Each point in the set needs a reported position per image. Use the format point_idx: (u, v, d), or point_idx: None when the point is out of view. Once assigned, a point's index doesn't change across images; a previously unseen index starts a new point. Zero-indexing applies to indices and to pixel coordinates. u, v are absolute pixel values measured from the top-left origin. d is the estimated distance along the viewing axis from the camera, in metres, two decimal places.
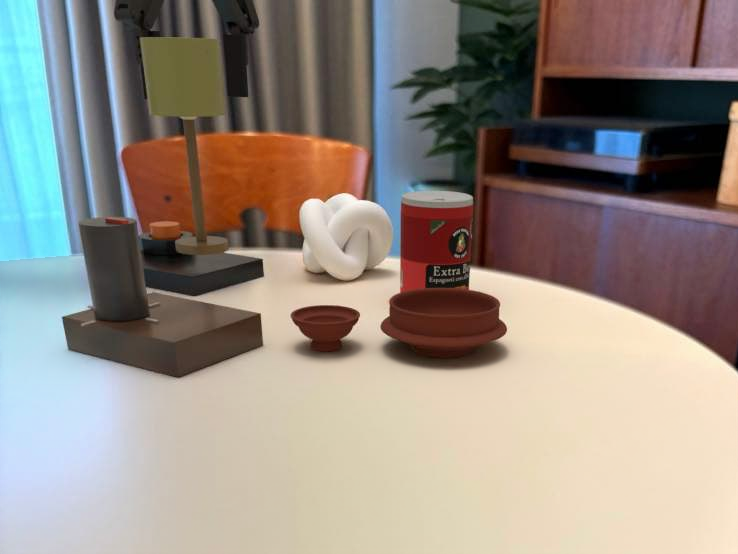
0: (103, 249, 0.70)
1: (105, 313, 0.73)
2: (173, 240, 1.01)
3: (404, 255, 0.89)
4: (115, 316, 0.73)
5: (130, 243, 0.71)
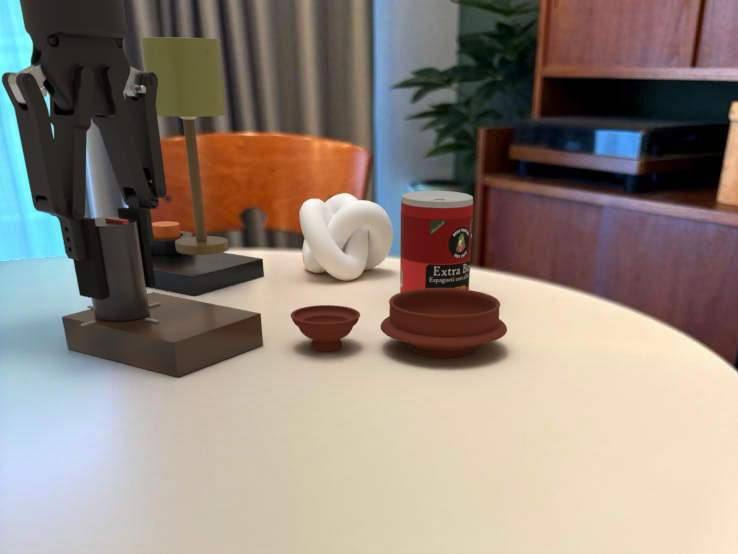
0: (103, 249, 0.70)
1: (105, 313, 0.73)
2: (173, 240, 1.01)
3: (404, 255, 0.89)
4: (115, 316, 0.73)
5: (130, 243, 0.71)
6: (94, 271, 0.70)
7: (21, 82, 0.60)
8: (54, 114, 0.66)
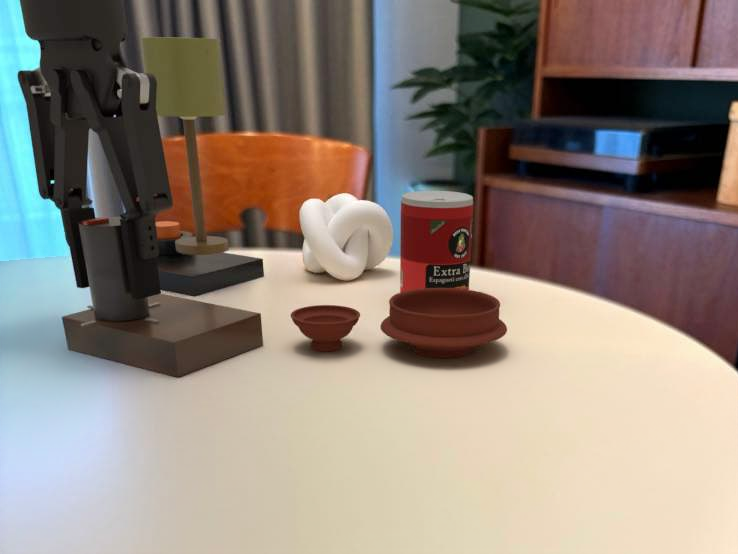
0: None
1: None
2: (173, 240, 1.01)
3: (404, 255, 0.89)
4: None
5: (88, 245, 0.70)
6: (74, 259, 0.74)
7: (18, 78, 0.68)
8: None
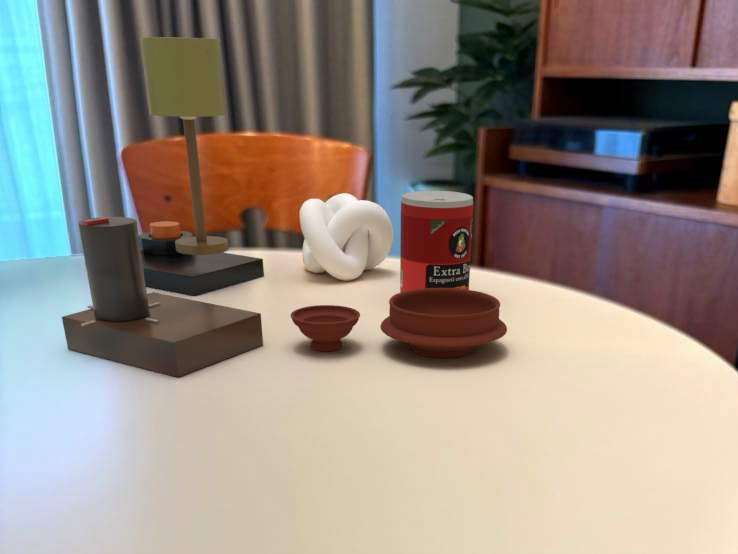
0: None
1: None
2: (173, 240, 1.01)
3: (404, 255, 0.89)
4: None
5: (88, 245, 0.70)
6: None
7: None
8: None
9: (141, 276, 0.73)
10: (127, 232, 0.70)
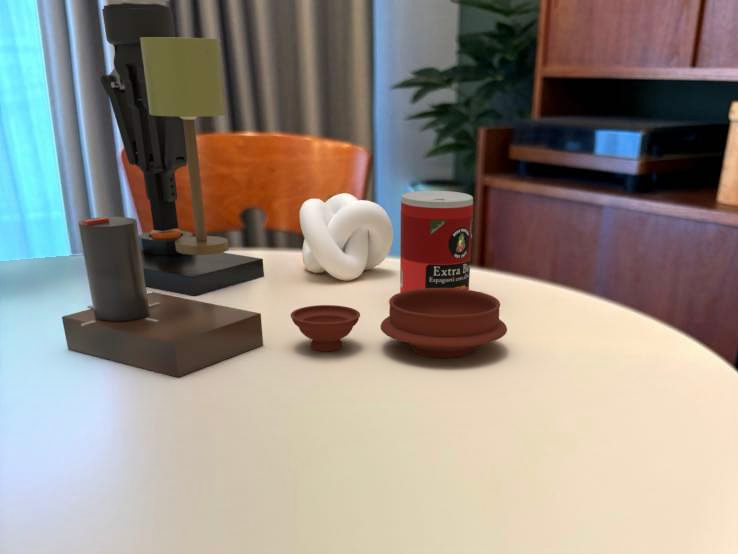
0: None
1: None
2: (173, 240, 1.01)
3: (404, 255, 0.89)
4: None
5: (88, 245, 0.70)
6: (152, 209, 1.01)
7: (102, 82, 0.97)
8: None
9: (141, 276, 0.73)
10: (127, 232, 0.70)
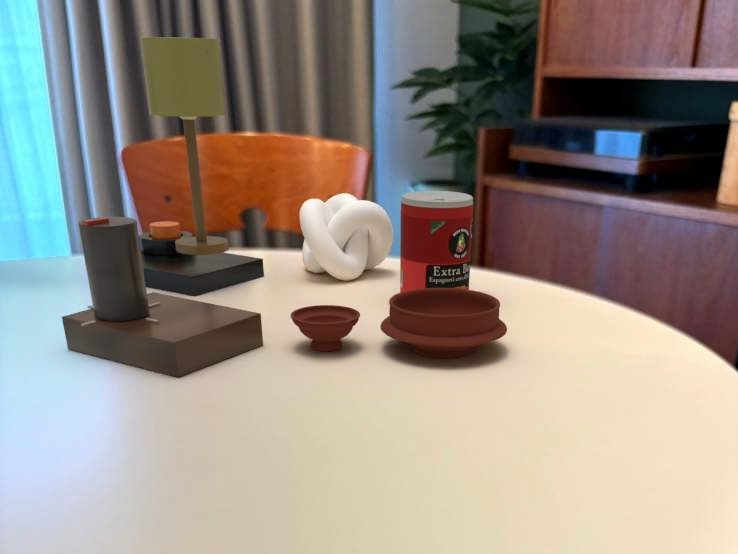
0: None
1: None
2: (173, 240, 1.01)
3: (404, 255, 0.89)
4: None
5: (88, 245, 0.70)
6: None
7: None
8: None
9: (141, 276, 0.73)
10: (127, 232, 0.70)
